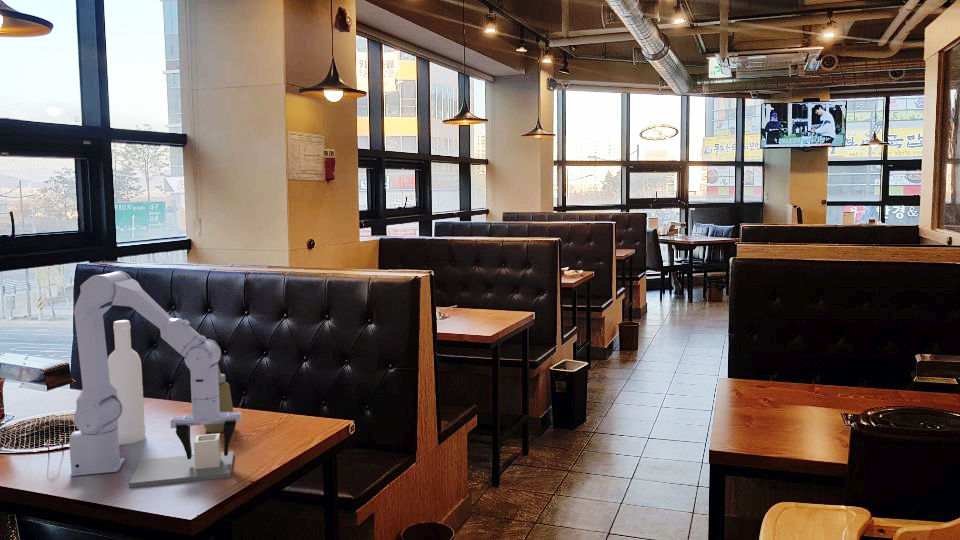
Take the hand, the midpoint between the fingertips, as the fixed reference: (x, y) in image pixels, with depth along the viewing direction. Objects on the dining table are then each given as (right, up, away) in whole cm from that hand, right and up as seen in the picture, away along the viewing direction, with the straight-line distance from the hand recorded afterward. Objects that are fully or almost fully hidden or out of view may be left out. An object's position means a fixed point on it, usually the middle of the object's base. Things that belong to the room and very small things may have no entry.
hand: (208, 456), depth 163 cm
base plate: (-5, -3, -1) cm, 6 cm away
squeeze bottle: (-8, 0, +27) cm, 28 cm away
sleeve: (0, -2, 0) cm, 2 cm away
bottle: (-27, -1, +20) cm, 34 cm away
